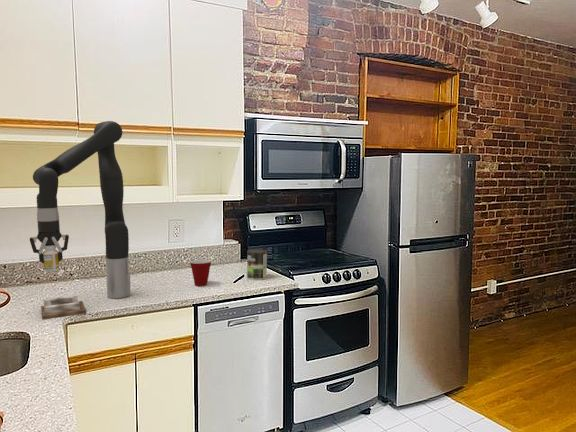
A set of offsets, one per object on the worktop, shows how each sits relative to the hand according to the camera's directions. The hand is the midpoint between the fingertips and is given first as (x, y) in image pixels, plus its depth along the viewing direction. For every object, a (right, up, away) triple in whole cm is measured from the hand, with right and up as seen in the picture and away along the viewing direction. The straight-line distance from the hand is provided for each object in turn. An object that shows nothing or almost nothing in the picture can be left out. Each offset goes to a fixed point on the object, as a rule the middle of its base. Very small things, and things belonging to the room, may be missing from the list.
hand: (51, 261), depth 178 cm
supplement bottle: (0, -3, 0) cm, 3 cm away
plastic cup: (+51, -15, +41) cm, 67 cm away
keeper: (+5, -19, -1) cm, 20 cm away
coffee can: (+77, -14, +55) cm, 96 cm away
